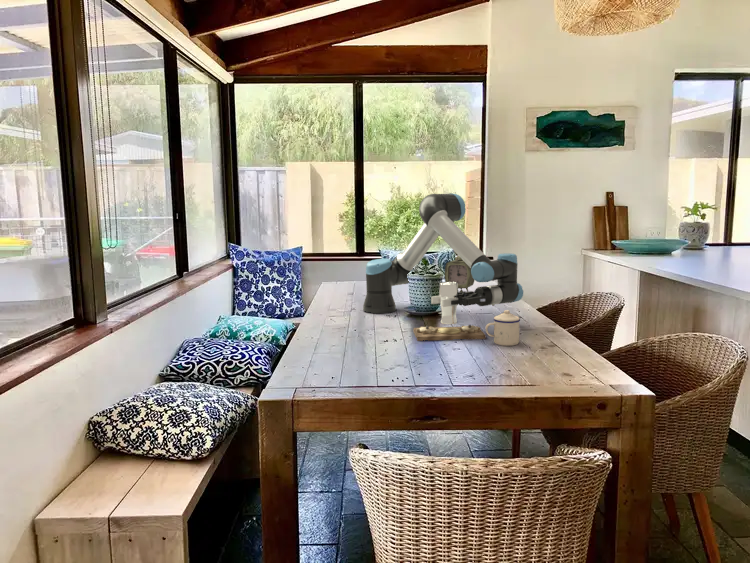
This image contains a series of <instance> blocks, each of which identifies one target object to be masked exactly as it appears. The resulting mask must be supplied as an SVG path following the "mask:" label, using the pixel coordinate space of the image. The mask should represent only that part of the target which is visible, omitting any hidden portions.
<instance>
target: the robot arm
mask: <svg viewBox="0 0 750 563" xmlns="http://www.w3.org/2000/svg"><path fill="white" fill-rule="evenodd" d="M418 213H419V217H420V219H421V220H422V221H423V224H422V226H421V227H420V228H419V230H418V231H417V233H416V234H415V235H414V236H413V238H412V239H411V241H410V242H409V244H408V245H407V246H406V248H405V249H404V251H402V252H399V253H398V254H397V255H396V256H395V258H394V259H393V260H392V259H390V258H377V259H372V260H369V261H368V262H367V263H366V265H365V267H366V268H365V280H366V282H365V283H366V284H365V286H366V295H365V298H364V302H363V305H362V311H363V310H364V311H366V312H365V313H368V312H371V313H370V314H387V313H388V312H389V313H392V312H393V313H394V312H395V311H396V310H397V309H396V307H397V306H396V302H395V299H394V296H393V294H392V293H393V292H392V291H393V290H392V289H393V288H392V287H393V286H401V285H409V284H410V283H409V281H408V278H407V274H408V273H409V272H410V271H411V270H412V269H413V267H414V266H415V265H416V264H419V263H420V262H421V260H422V259H423V258H424V257H425V255H426V254H427V253H428V251H429V249H430V248H431V247H432V246H433V244H435V242H436V240H437V239H438V237H441V239H442V240H443V241H444V242H445V243H446V244H447V245H448V246H449V248H451V249H452V250H453V252H454V251H455V252H456V253H457V254H458V255H457V254H456V255H457V256H460V257H461V259H462V260H463V261H464V262H465V263H466V264H467V265H468V266H469V267H470V268H471V274H472V277H473V279H474V282H478V283H488V282H493V281H497V282H496V283H497V284H491V285H485V286H484V285H483V286H478V287H477V288H475V289H474V291H468V292H467V291H463V292H460V291H459V292H458V298H451V299H442V307H448V306H456V305H457V306H464V307H467V306H473V305H474V306H475V305H476V306H479V307H487V306H492V307H494V306H495V305H501V304H509V303H510V304H512V303H516V302H519V301H521V300H522V298H523V296H524V289H523V286H522V285H521V284H520V283H518V255H517V254H515V253H509V252H508V253H504V252H503V253H499V254H498V255H497V259H496V260H495V259H494V260H491V259H490V258H489V257H488V256H487V255H486V254H485V253H484V252H483V251H482V249H480V248H479V247H478V246H477V245H476V244H475V243H474V242H473V240H472V239H470V238H469V237H468V236H467V235H466V234H465V233H464V232H463V231H462V230H461V228H460V227H459V226H458V225H456V223H455V222H458V221H460V220H462V219H463V218H464V216H465V214H466V203H465V200H464V199H463V197H462V196H461V195H459V194H457V193H452V192H449V193H431V194H428V195H426V196H425V197H424V198H423V199H422V200H421V201H420V204H419V207H418ZM430 300H431V301H430V302H431V305H436V304H440V298H439V295H434V296H433V295H432V296H431V298H430ZM364 311H363V312H364ZM389 313H388V314H389Z"/></svg>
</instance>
